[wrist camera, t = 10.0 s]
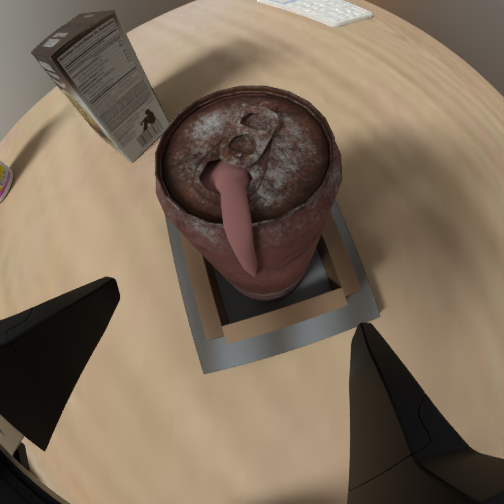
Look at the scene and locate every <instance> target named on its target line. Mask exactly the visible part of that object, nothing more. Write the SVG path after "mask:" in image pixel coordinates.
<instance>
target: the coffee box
mask: <svg viewBox="0 0 504 504" xmlns="http://www.w3.org/2000/svg"><path fill="white" fill-rule="evenodd" d="M31 53H32V54H33V55H34V57H35V58H36V59H37V60H38V62H39V63H40V64H41V66H42V67H43V68H44V69H45V71H46V72H47V73H48V75H49V76H50V77H51V78H52V80H53V81H54V82H55V83H56V85H57V86H58V87H59V88H60V90H61V91H62V92H63V93H64V95H65V96H66V97H67V98H68V99H69V101H70V102H71V103H72V104H73V106H74V107H75V108H76V109H77V110H78V112H79V113H80V114H81V115H82V116H83V118H84V119H85V120H86V121H87V122H88V123H89V125H90V126H91V127H92V128H93V129H94V130H95V131H96V133H97V134H98V135H99V136H100V137H101V138H102V139H103V140H105V141H106V142H107V143H108V144H109V145H111V146H112V147H113V148H114V149H115V150H116V151H118V152H119V153H120V154H121V155H122V156H124V157H125V158H126V159H127V160H128V161H130V162H131V163H133V162H134V161H135V160H136V159H137V158H138V157H139V156H140V155H141V154H142V153H143V152H144V151H145V150H146V149H147V148H148V147H149V146H150V145H151V144H152V143H153V142H154V141H155V140H156V139H157V138H159V137H160V136H161V135H162V134H163V132H164V131H165V130H166V128H167V127H168V126H169V124H170V123H169V121H168V119H167V117H166V115H165V113H164V111H163V109H162V107H161V105H160V103H159V101H158V99H157V97H156V95H155V93H154V91H153V89H152V87H151V85H150V83H149V80H148V78H147V76H146V74H145V72H144V70H143V68H142V66H141V64H140V62H139V60H138V58H137V56H136V53H135V51H134V49H133V47H132V45H131V43H130V41H129V39H128V37H127V35H126V33H125V31H124V29H123V27H122V24H121V22H120V20H119V18H118V16H117V14H116V12H115V10H111V11H101V12H91V13H84V14H79V15H78V16H76V17H75V18H73V19H72V20H71V21H69V22H68V23H67V24H65V25H63V26H62V27H60V28H59V29H57V30H56V31H55V32H53V33H52V34H51V35H50V36H48V37H47V38H46V39H45V40H44V41H42V43H40V44H39V45H38V46H37V47H36V48H35V49H34V50H33V51H32V52H31Z"/></svg>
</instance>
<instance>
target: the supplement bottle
mask: <svg viewBox="0 0 504 504" xmlns="http://www.w3.org/2000/svg"><path fill="white" fill-rule="evenodd" d="M12 180H13V172H12V170H11V169H10V168H9V167H8V166H6V165H5V164H4V163H2V162H1V161H0V202H1V201H2V200H3V199H4V198H5V196H6V194H7V193H8V191H9V189H10V186H11V184H12Z"/></svg>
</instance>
